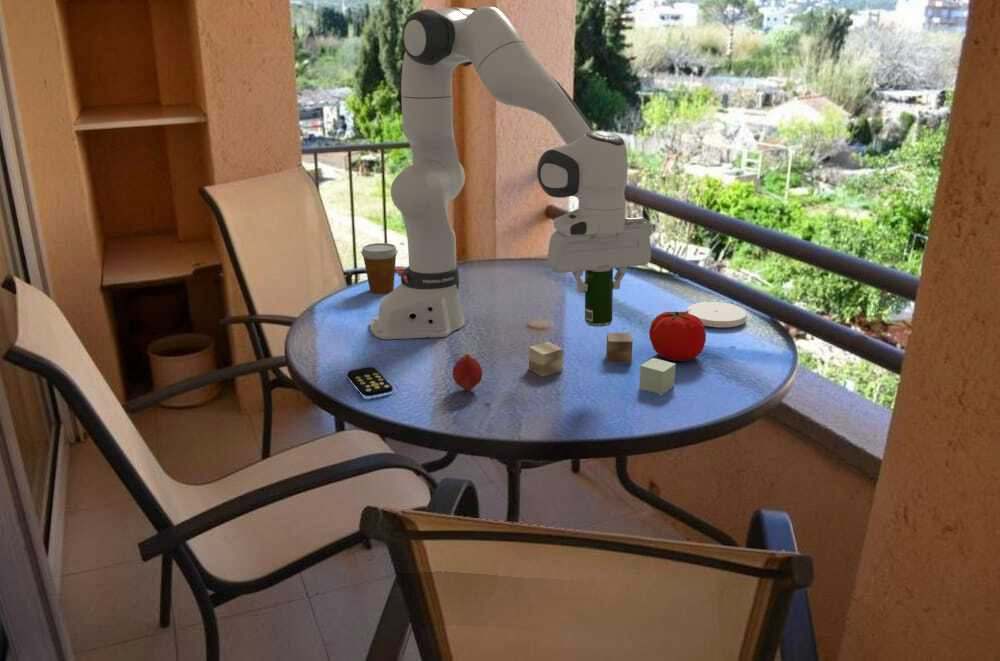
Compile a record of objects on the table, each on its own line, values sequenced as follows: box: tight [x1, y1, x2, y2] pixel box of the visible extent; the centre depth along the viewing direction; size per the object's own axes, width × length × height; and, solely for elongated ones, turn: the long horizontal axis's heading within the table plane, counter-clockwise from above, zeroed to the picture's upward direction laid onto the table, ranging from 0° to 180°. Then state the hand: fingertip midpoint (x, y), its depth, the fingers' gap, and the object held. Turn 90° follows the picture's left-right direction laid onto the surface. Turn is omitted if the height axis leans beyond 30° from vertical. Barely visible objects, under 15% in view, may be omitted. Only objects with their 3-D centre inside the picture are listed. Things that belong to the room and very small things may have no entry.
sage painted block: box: [638, 357, 677, 395], centre depth 165 cm, size 5×5×5 cm
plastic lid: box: [686, 301, 748, 328], centre depth 202 cm, size 14×14×2 cm
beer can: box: [584, 265, 614, 328], centre depth 163 cm, size 5×5×12 cm
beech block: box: [528, 341, 564, 377], centre depth 174 cm, size 5×5×5 cm
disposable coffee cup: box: [360, 242, 398, 295], centre depth 224 cm, size 10×10×12 cm
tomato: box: [648, 309, 707, 362], centre depth 179 cm, size 12×12×10 cm
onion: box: [452, 352, 483, 392], centre depth 164 cm, size 6×6×8 cm
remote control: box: [346, 366, 394, 396], centre depth 168 cm, size 6×13×2 cm, turn 26°
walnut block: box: [605, 332, 633, 364], centre depth 179 cm, size 5×5×5 cm
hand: (598, 290), depth 163 cm, fingers closed on beer can, 5 cm apart
